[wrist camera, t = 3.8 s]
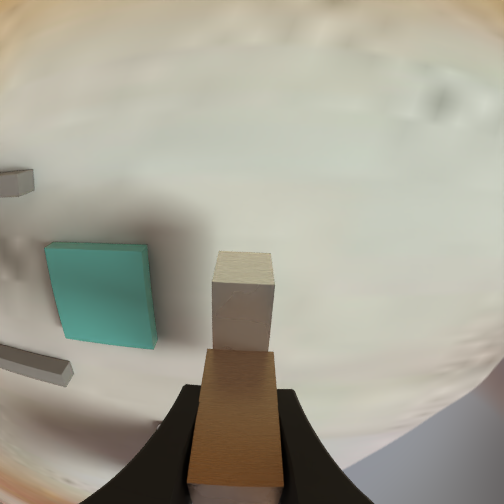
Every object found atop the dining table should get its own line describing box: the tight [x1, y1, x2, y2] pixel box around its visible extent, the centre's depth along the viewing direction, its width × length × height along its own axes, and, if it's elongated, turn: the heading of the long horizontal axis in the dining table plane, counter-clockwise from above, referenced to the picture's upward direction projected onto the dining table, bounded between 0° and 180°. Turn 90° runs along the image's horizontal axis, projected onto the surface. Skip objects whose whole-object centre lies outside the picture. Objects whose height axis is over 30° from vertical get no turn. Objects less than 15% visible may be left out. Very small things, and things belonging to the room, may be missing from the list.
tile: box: [44, 242, 158, 350], centre depth 17 cm, size 6×6×2 cm
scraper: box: [187, 251, 284, 504], centre depth 11 cm, size 8×2×8 cm, turn 177°
